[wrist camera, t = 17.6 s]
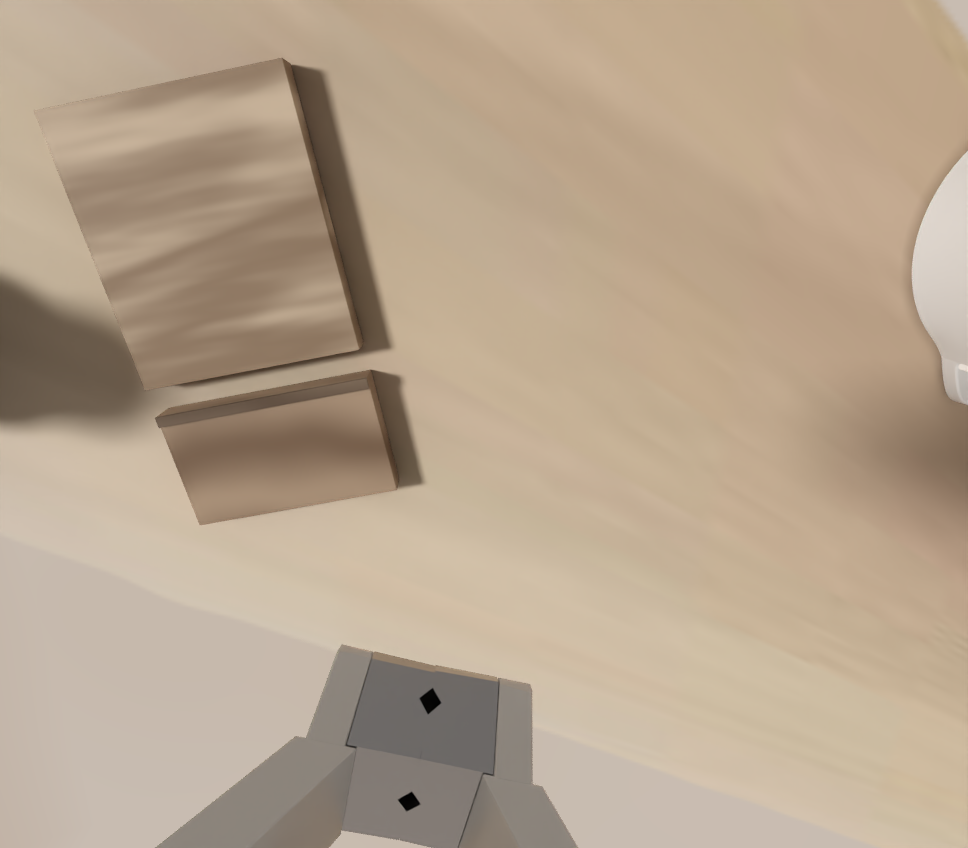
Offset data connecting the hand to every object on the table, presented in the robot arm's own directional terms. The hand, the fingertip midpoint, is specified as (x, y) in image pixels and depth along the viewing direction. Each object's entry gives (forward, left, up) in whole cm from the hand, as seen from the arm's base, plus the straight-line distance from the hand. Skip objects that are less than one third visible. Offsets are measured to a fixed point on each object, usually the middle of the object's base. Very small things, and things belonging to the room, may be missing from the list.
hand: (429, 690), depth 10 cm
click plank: (+10, +5, -27) cm, 29 cm away
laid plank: (+8, +9, -27) cm, 30 cm away
